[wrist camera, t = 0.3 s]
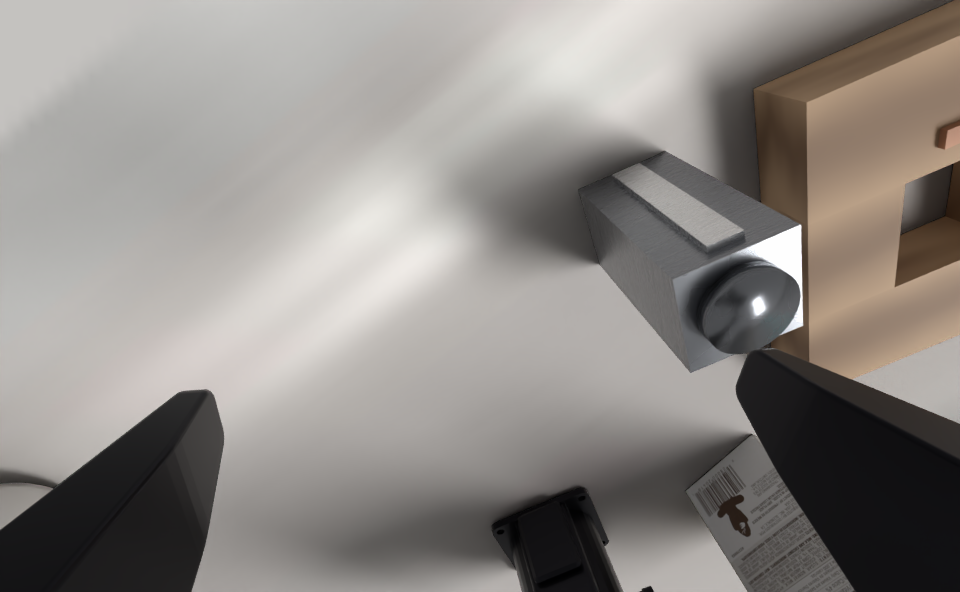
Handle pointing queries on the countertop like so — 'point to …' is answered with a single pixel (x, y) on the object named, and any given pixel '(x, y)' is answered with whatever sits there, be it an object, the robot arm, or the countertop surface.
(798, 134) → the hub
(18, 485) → the plastic bottle
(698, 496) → the coffee box
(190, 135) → the countertop surface
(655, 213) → the peg
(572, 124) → the countertop surface
